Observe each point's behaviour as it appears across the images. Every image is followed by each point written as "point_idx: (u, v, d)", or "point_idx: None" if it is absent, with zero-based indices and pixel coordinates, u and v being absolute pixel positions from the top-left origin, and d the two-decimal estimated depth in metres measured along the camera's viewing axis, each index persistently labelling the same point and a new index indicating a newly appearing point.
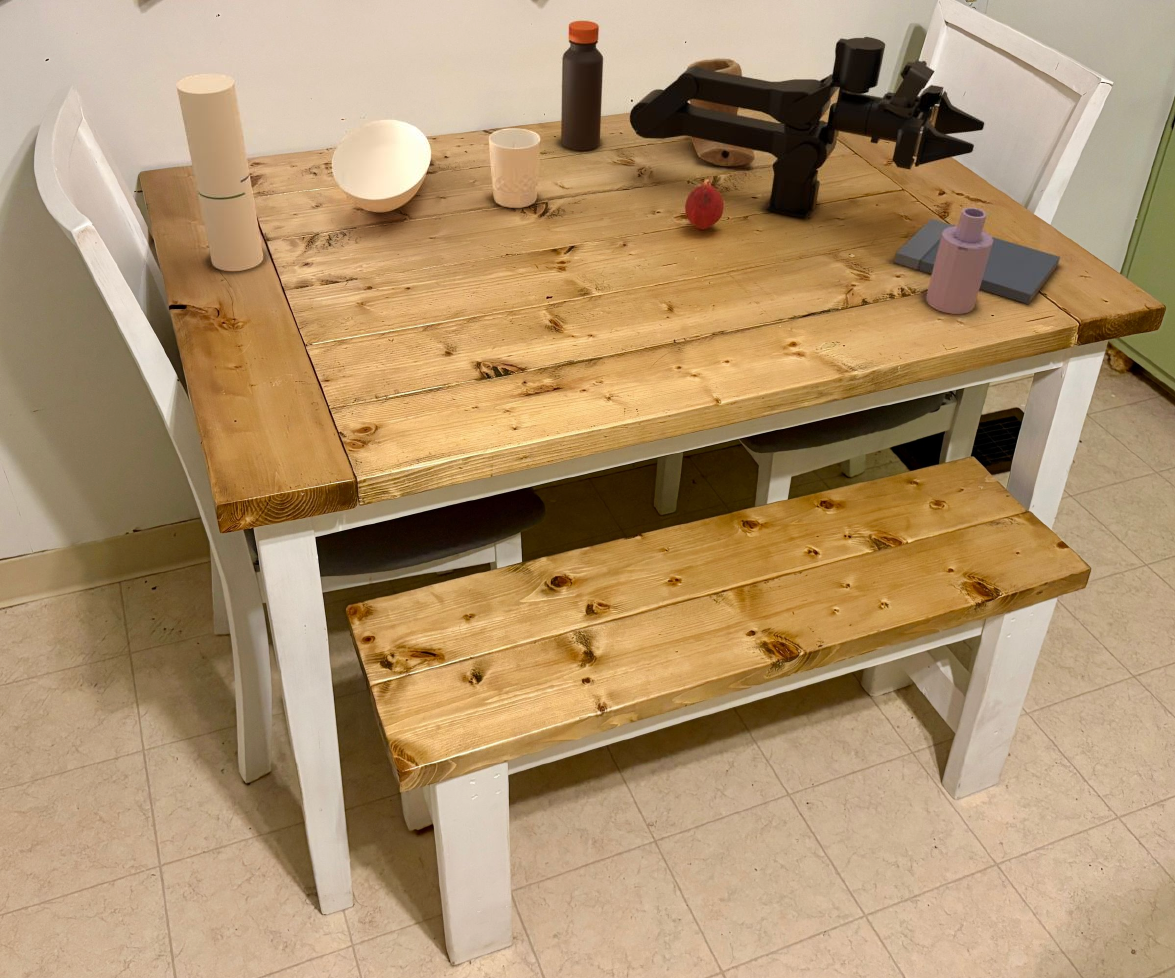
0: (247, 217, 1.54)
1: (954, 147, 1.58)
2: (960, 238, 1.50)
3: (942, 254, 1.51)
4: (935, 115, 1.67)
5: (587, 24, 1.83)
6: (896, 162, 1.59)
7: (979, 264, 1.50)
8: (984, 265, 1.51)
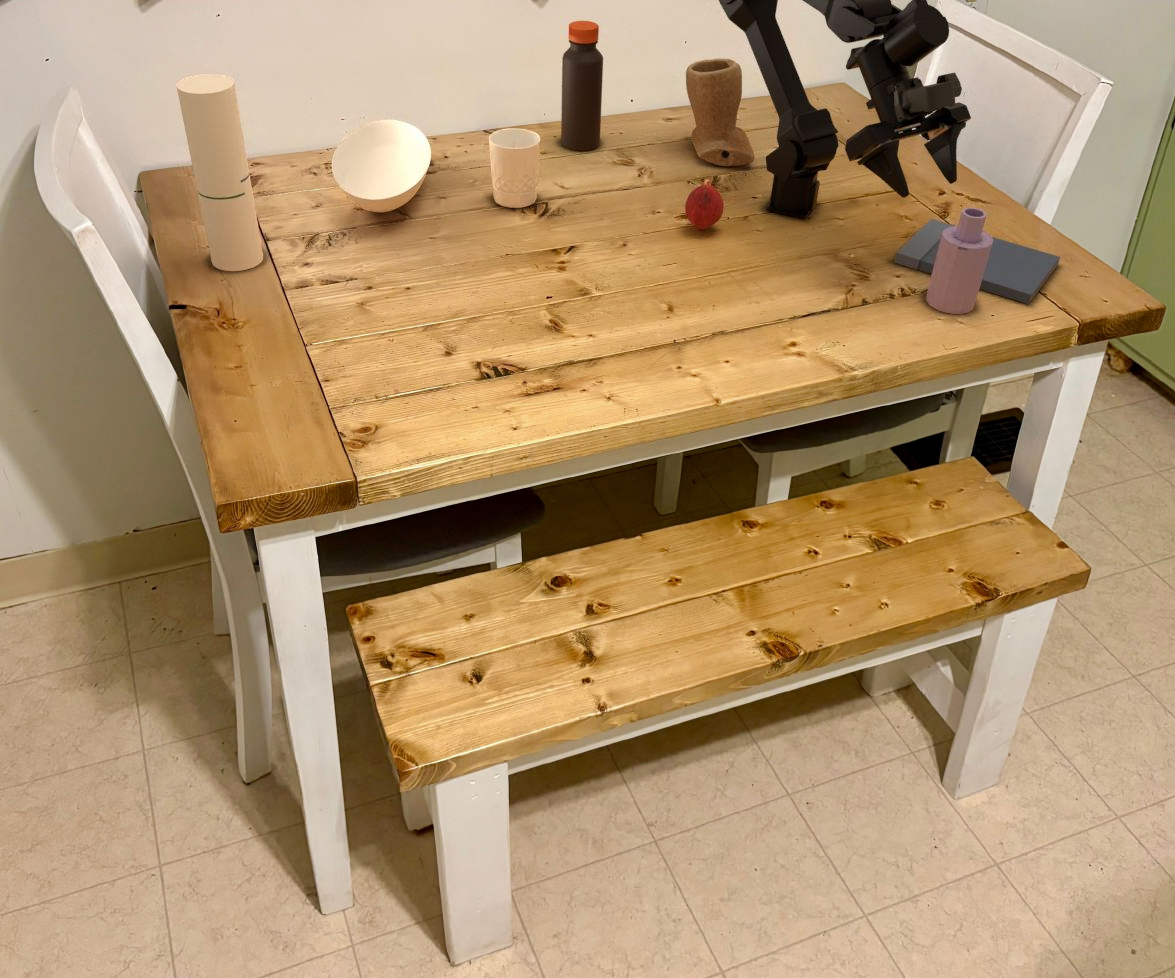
0: (247, 217, 1.54)
1: (894, 181, 1.51)
2: (960, 238, 1.50)
3: (942, 254, 1.51)
4: (938, 133, 1.56)
5: (587, 24, 1.83)
6: None
7: (979, 264, 1.50)
8: (984, 265, 1.51)
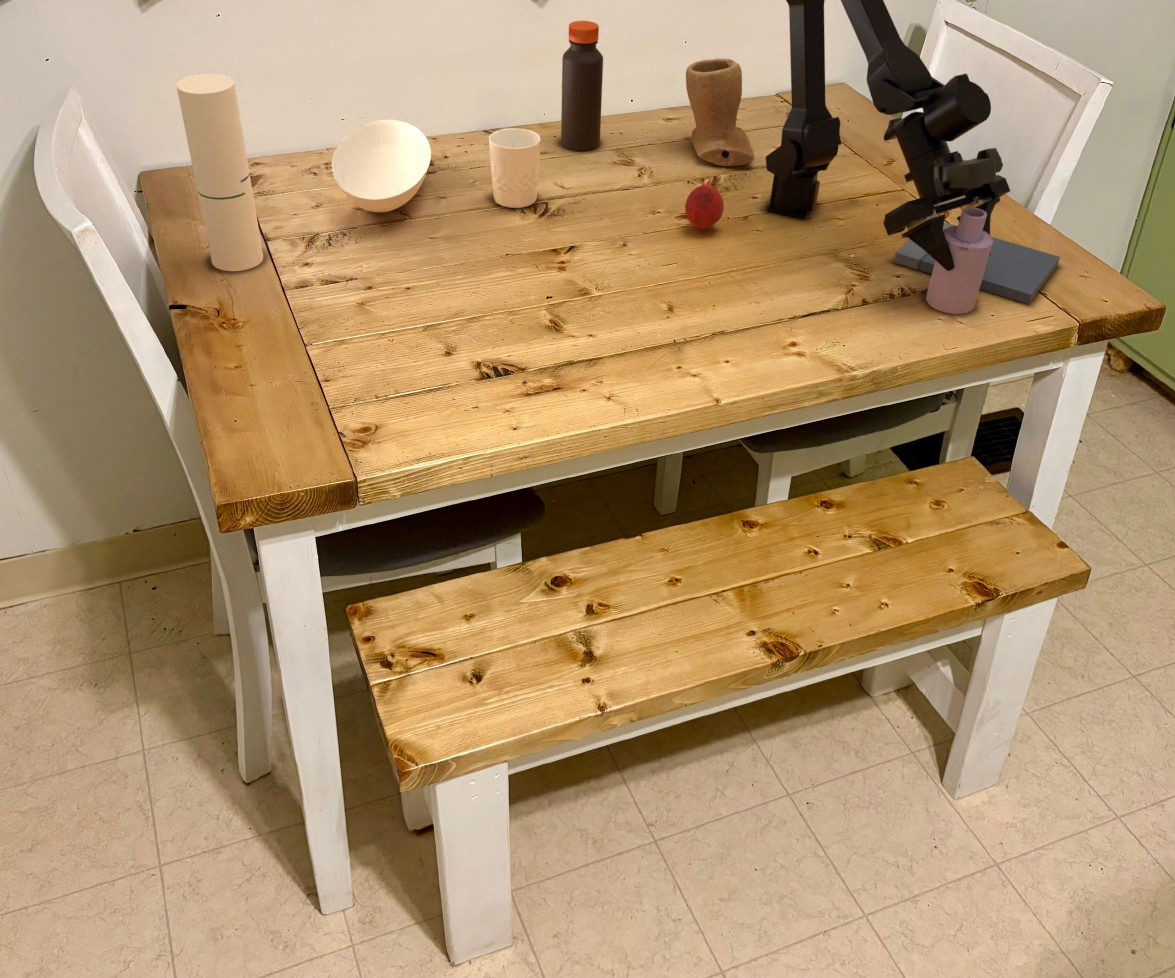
0: (247, 217, 1.54)
1: (939, 254, 1.50)
2: (960, 238, 1.50)
3: None
4: None
5: (587, 24, 1.83)
6: (884, 220, 1.50)
7: (979, 264, 1.50)
8: (984, 265, 1.51)
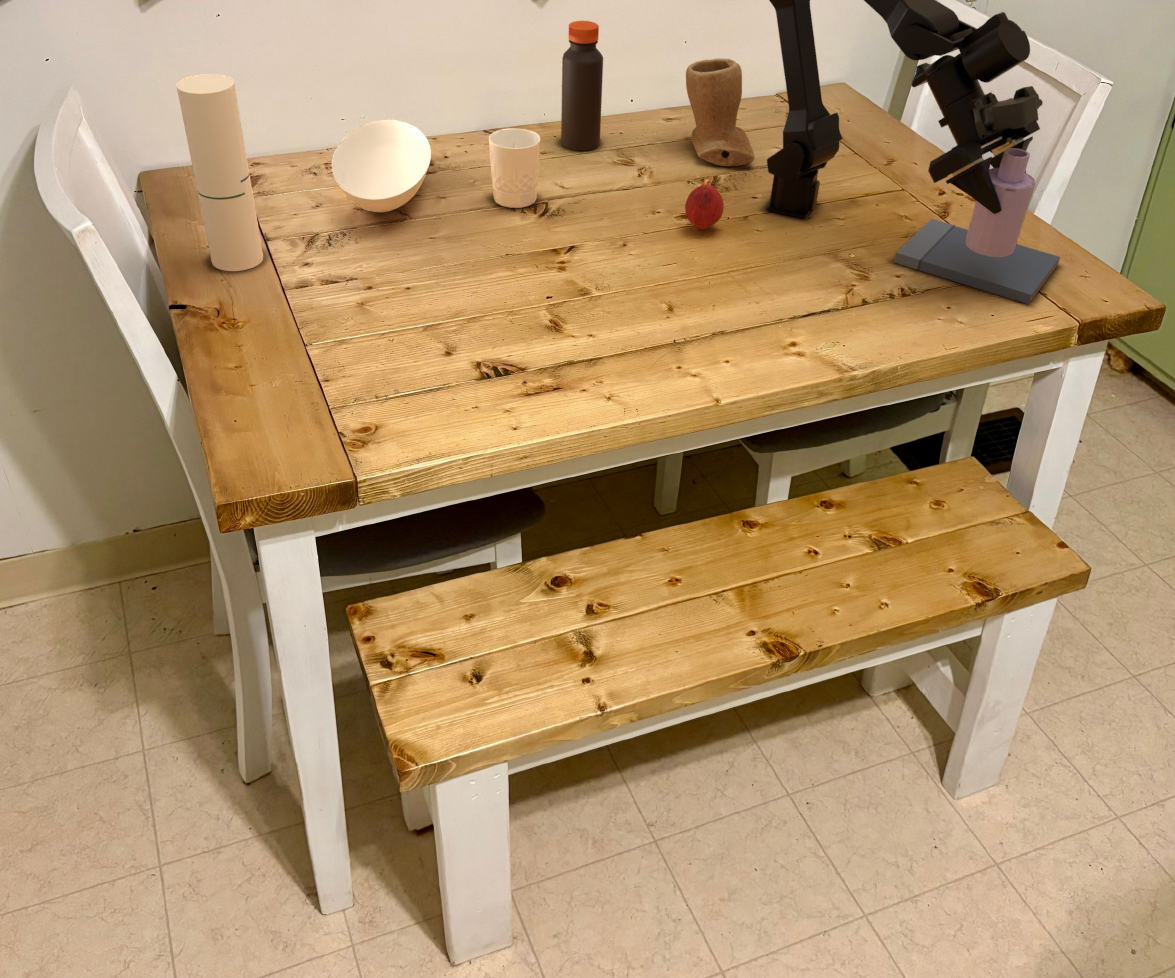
0: (247, 217, 1.54)
1: (986, 197, 1.49)
2: (1004, 180, 1.49)
3: None
4: (1005, 148, 1.53)
5: (587, 24, 1.83)
6: (930, 167, 1.48)
7: (1024, 204, 1.50)
8: (1027, 205, 1.51)
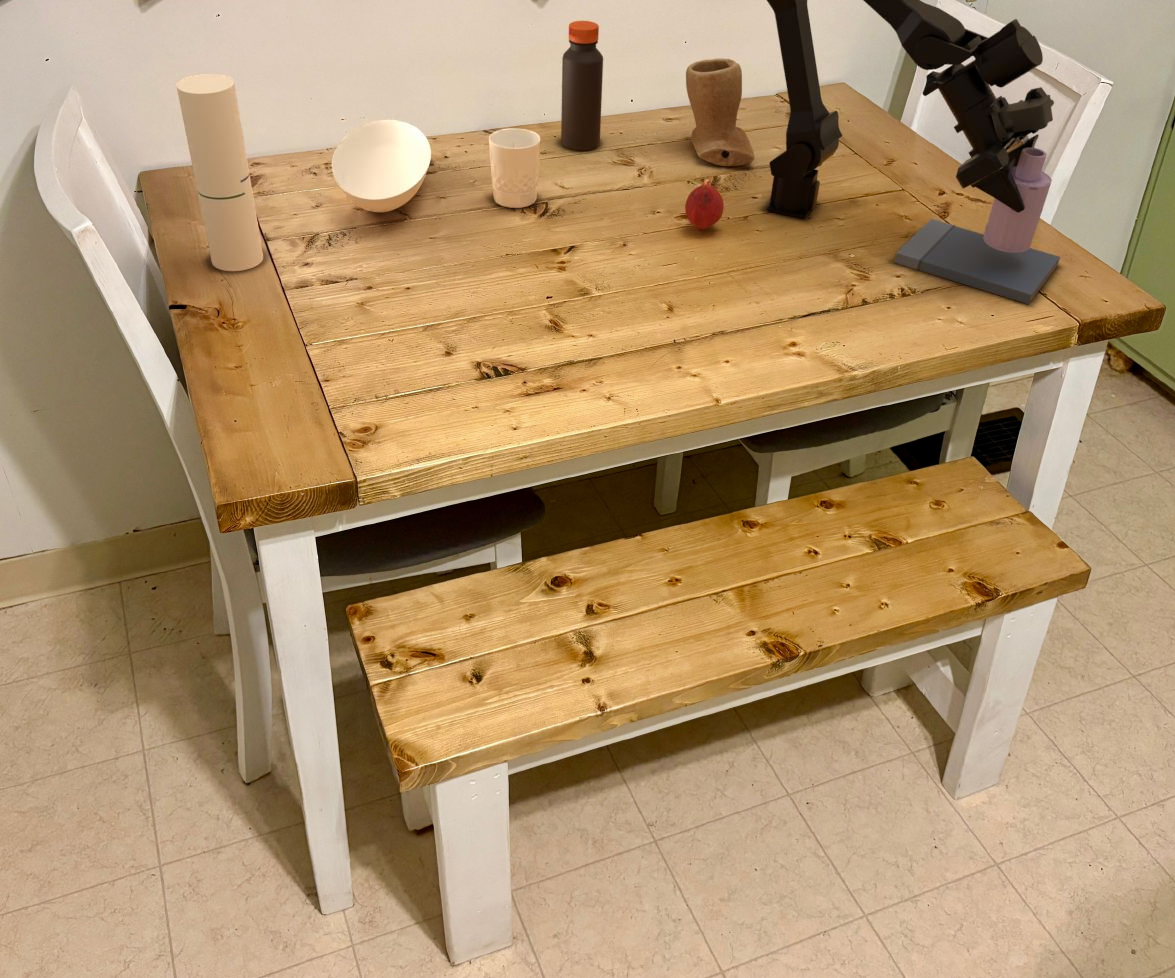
0: (247, 217, 1.54)
1: (1010, 198, 1.54)
2: (1024, 179, 1.54)
3: None
4: (1013, 148, 1.59)
5: (587, 24, 1.83)
6: (959, 173, 1.51)
7: (1044, 201, 1.56)
8: None
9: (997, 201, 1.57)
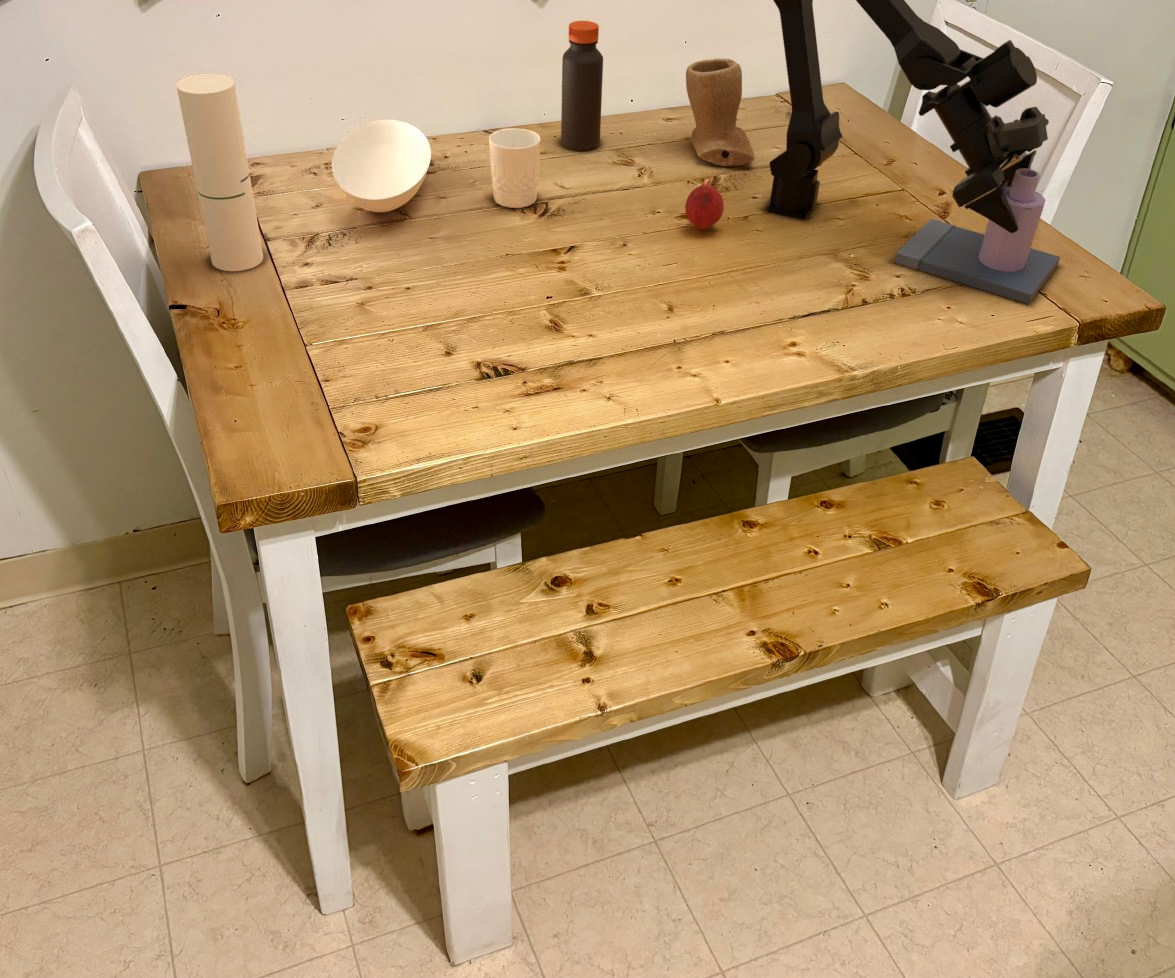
0: (247, 217, 1.54)
1: (1004, 218, 1.55)
2: (1018, 199, 1.56)
3: None
4: (1011, 163, 1.61)
5: (587, 24, 1.83)
6: (955, 192, 1.53)
7: (1038, 220, 1.57)
8: None
9: None
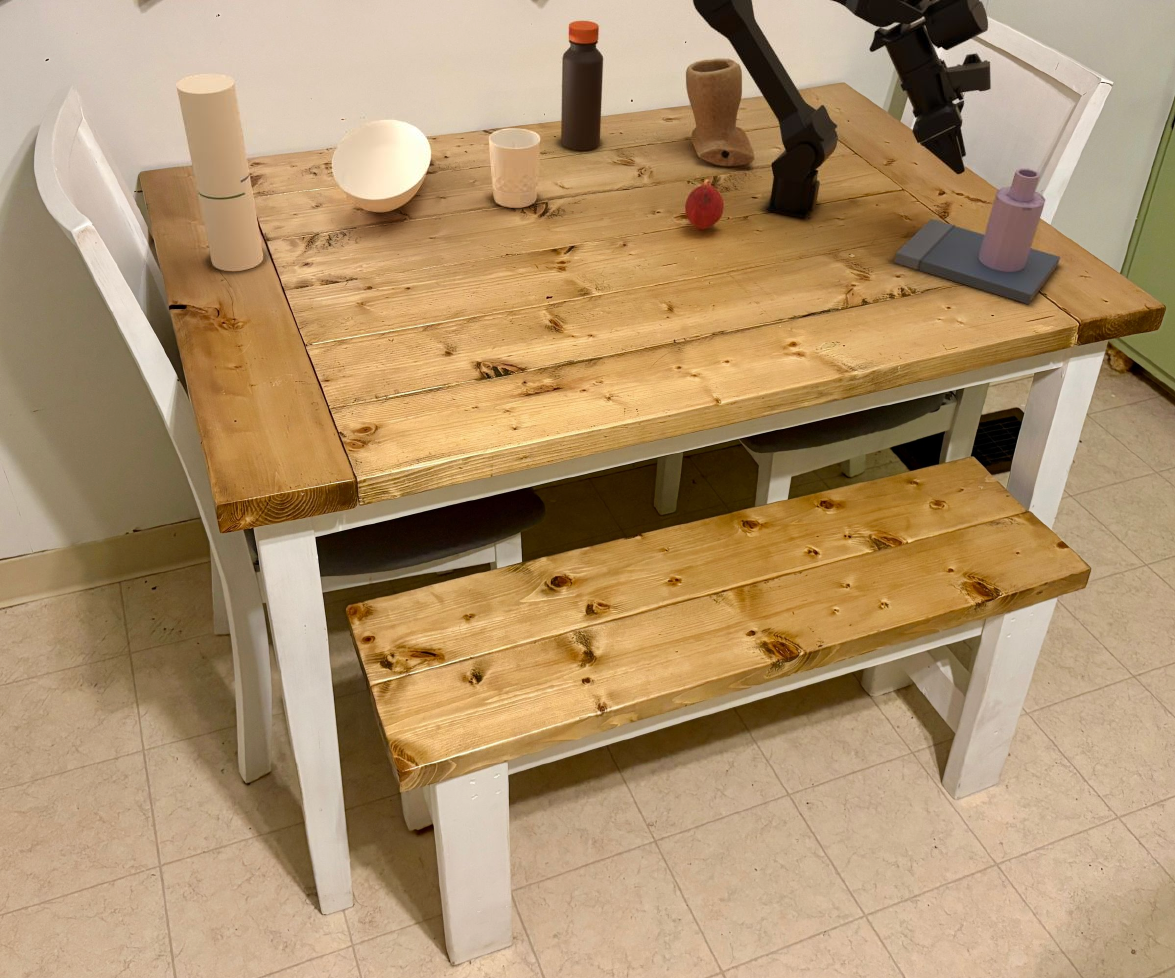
0: (247, 217, 1.54)
1: (954, 159, 1.57)
2: (1018, 199, 1.56)
3: (1003, 217, 1.57)
4: None
5: (587, 24, 1.83)
6: (916, 127, 1.53)
7: (1038, 220, 1.57)
8: None
9: (992, 221, 1.59)
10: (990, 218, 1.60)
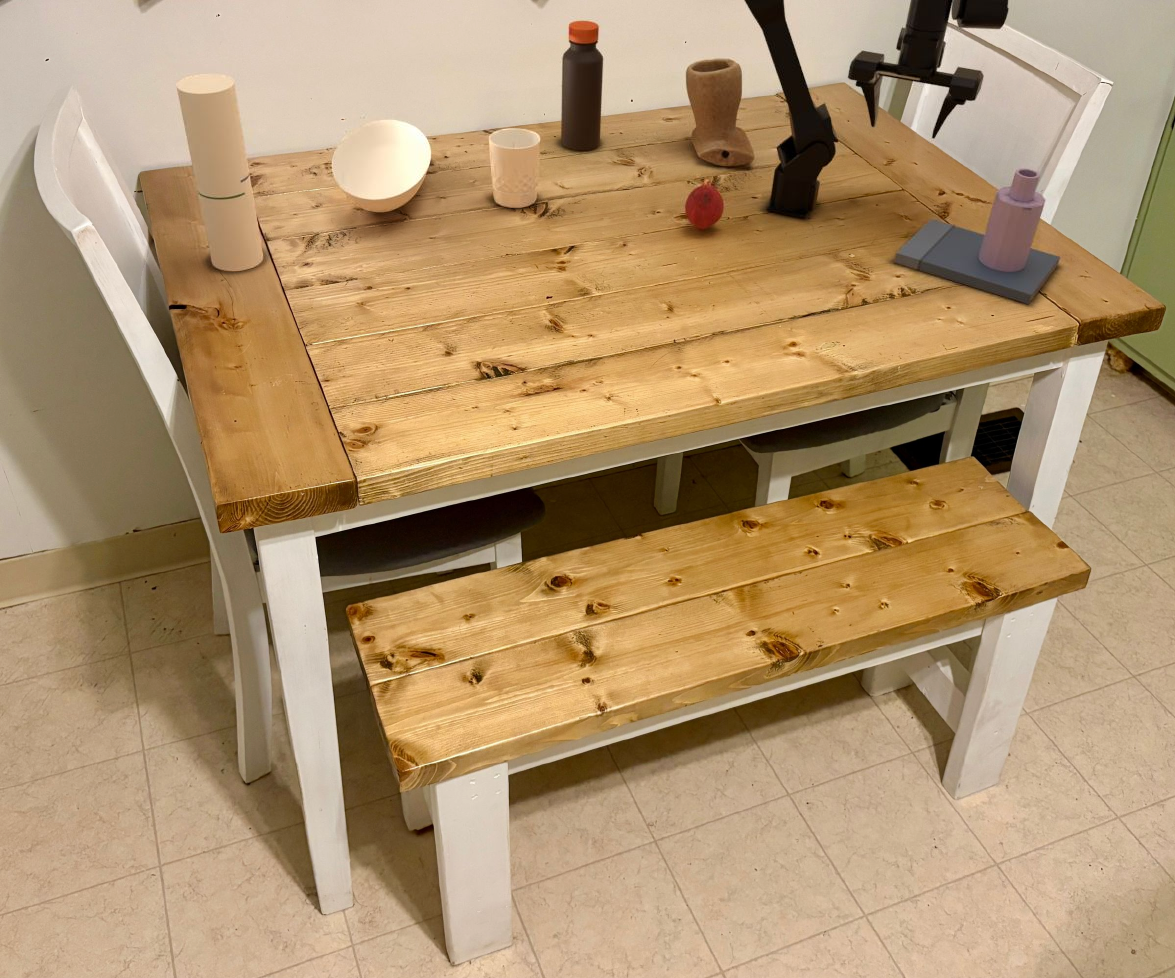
0: (247, 217, 1.54)
1: None
2: (1018, 199, 1.56)
3: (1003, 217, 1.57)
4: (876, 78, 1.68)
5: (587, 24, 1.83)
6: (977, 85, 1.60)
7: (1038, 220, 1.57)
8: None
9: (992, 221, 1.59)
10: (990, 218, 1.60)
